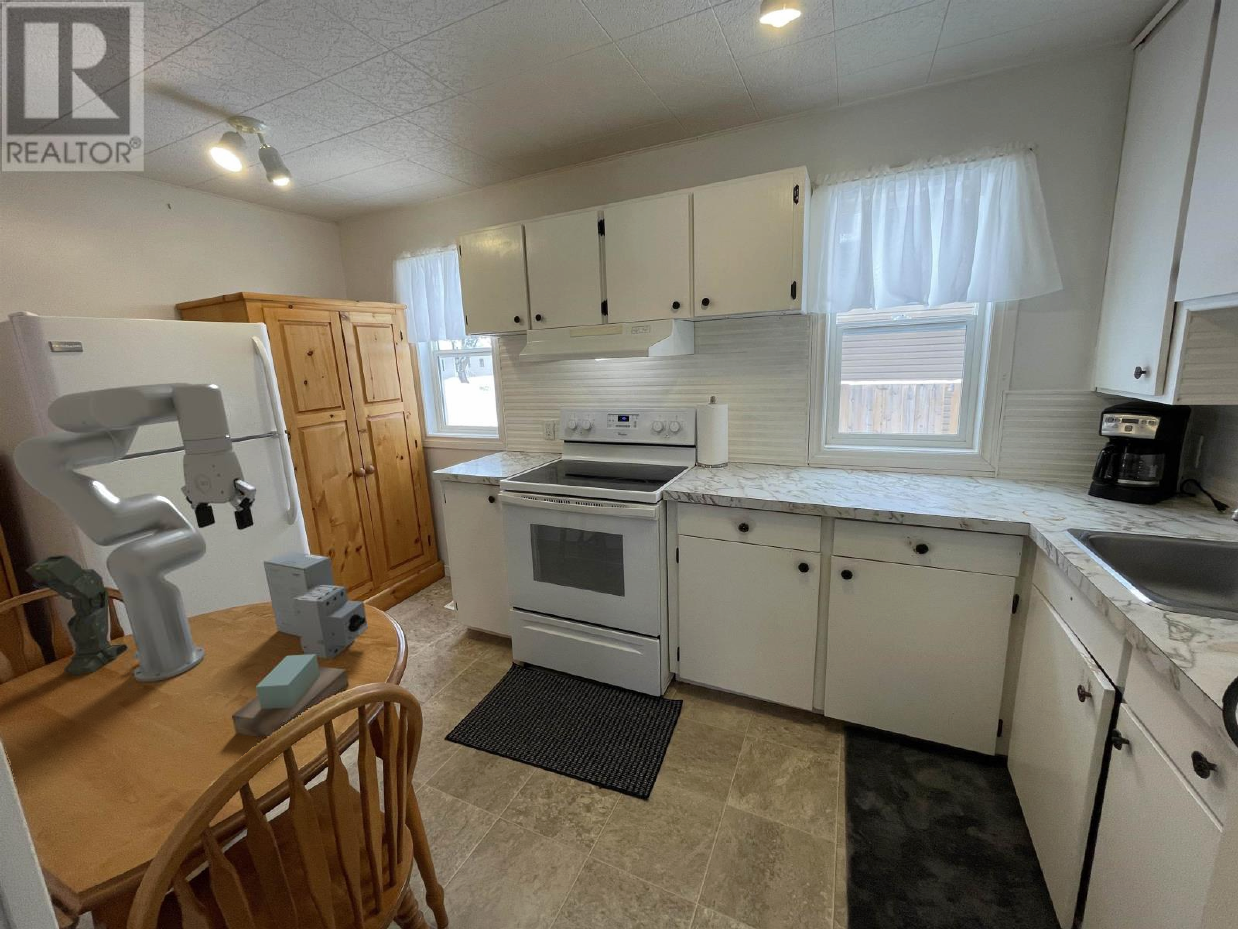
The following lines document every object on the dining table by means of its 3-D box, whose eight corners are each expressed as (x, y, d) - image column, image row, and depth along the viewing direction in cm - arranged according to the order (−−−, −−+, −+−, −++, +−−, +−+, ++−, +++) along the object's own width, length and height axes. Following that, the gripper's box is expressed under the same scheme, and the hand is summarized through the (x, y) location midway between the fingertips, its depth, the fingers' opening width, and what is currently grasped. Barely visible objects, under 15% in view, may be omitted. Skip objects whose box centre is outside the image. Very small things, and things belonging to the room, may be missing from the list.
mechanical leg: (114, 638, 130) (54, 543, 117) (144, 636, 131) (88, 541, 117) (67, 682, 118) (-6, 582, 105) (100, 680, 119) (32, 580, 105)
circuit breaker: (355, 661, 119) (345, 603, 116) (303, 655, 122) (292, 599, 118) (375, 643, 126) (367, 588, 123) (326, 638, 129) (316, 584, 126)
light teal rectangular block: (292, 707, 98) (287, 685, 97) (260, 709, 98) (255, 686, 97) (319, 675, 108) (315, 654, 107) (291, 676, 107) (286, 655, 106)
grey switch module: (343, 627, 134) (331, 557, 130) (317, 642, 127) (303, 569, 123) (303, 617, 140) (290, 550, 135) (276, 631, 133) (261, 561, 128)
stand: (235, 733, 97) (231, 715, 96) (301, 680, 112) (298, 664, 112) (289, 740, 95) (285, 722, 94) (348, 685, 110) (345, 669, 109)
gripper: (154, 449, 99) (174, 531, 103) (226, 450, 96) (244, 534, 100) (192, 442, 107) (209, 519, 110) (261, 443, 103) (276, 522, 107)
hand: (226, 526), depth 105 cm, fingers open, 9 cm apart
